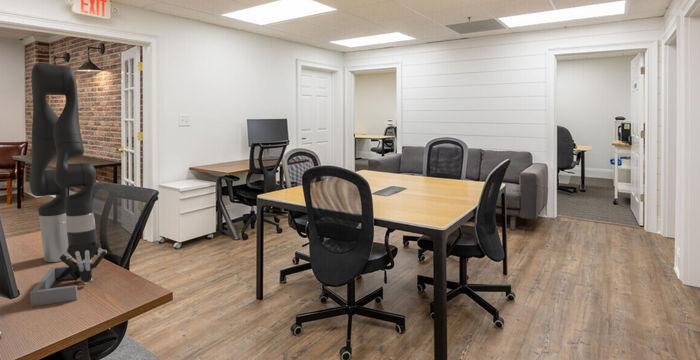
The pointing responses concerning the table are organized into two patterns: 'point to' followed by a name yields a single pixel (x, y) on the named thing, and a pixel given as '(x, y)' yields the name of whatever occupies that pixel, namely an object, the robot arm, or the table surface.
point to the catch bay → (53, 289)
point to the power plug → (72, 274)
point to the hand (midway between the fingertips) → (86, 281)
